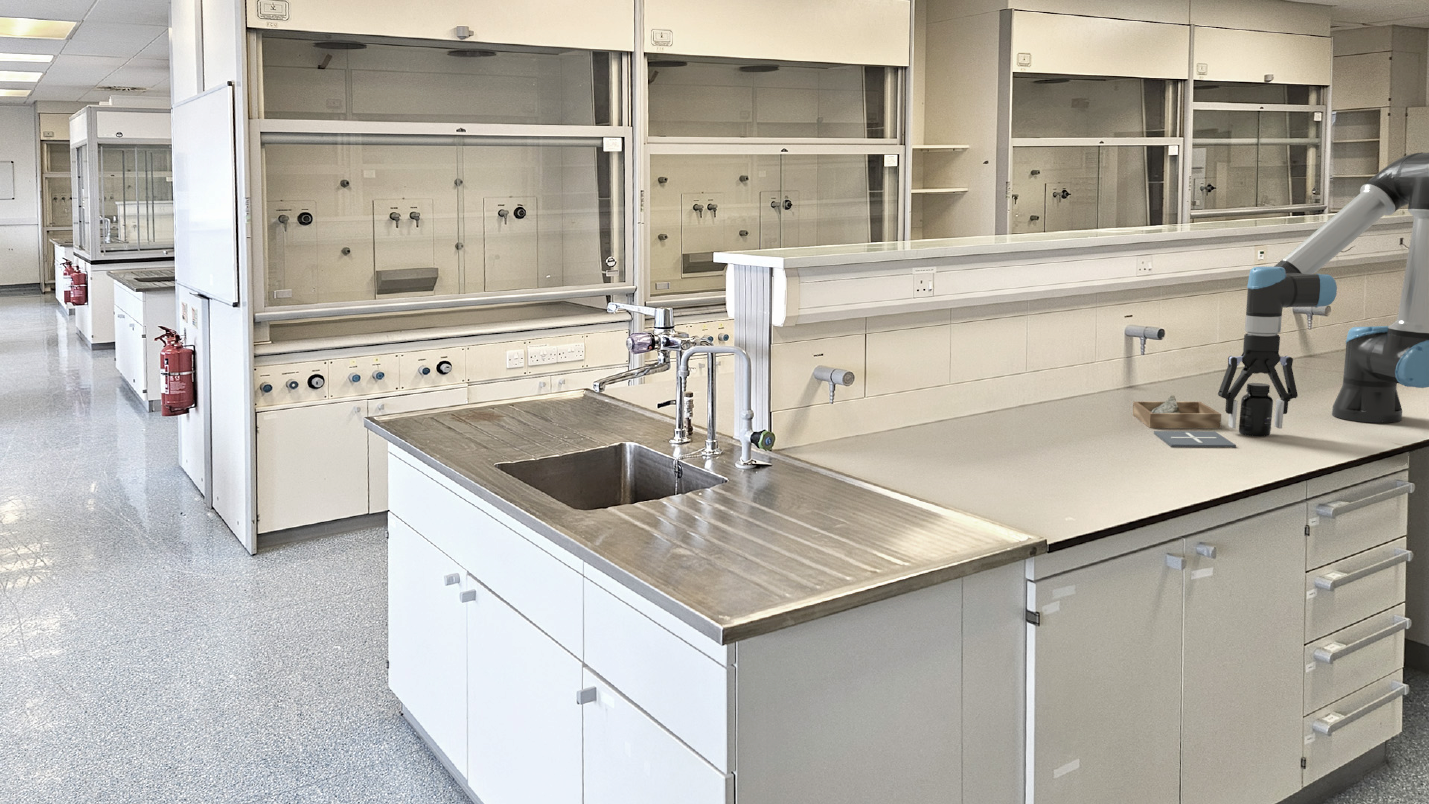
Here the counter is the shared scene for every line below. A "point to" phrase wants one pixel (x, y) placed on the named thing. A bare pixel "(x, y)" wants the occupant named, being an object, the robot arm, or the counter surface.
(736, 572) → the counter surface
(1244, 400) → the supplement bottle
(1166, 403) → the rock sample
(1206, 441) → the rest mat
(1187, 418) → the tray
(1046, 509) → the counter surface
